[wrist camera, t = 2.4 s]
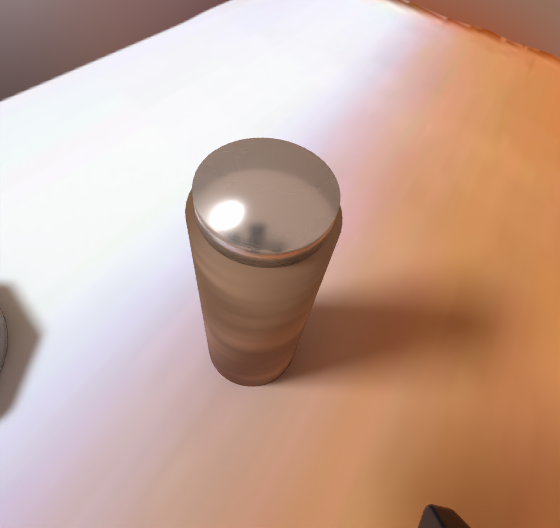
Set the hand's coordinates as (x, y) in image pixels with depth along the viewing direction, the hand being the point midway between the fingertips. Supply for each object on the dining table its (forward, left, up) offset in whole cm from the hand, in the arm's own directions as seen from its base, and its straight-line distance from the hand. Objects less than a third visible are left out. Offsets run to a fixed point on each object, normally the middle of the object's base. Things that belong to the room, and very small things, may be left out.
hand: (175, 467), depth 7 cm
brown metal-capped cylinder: (+4, -6, -13) cm, 15 cm away
